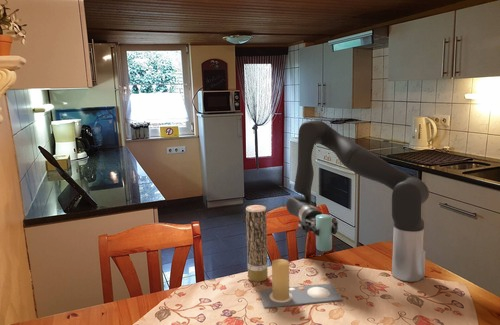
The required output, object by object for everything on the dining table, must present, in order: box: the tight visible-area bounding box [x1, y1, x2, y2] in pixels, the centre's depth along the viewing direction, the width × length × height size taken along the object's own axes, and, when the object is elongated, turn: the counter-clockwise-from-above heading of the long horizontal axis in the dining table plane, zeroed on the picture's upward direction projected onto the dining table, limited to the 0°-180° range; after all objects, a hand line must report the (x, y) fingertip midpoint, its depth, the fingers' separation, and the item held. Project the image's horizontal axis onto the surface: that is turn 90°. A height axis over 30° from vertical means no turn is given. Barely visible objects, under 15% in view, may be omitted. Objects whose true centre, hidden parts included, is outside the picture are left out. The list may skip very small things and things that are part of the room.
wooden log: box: [245, 204, 269, 283], centre depth 123 cm, size 7×7×25 cm
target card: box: [258, 282, 344, 309], centre depth 112 cm, size 24×10×1 cm, turn 98°
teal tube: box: [315, 213, 333, 252], centre depth 121 cm, size 5×5×11 cm
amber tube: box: [271, 258, 290, 301], centre depth 111 cm, size 5×5×11 cm
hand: (326, 232), depth 118 cm, fingers closed on teal tube, 5 cm apart
